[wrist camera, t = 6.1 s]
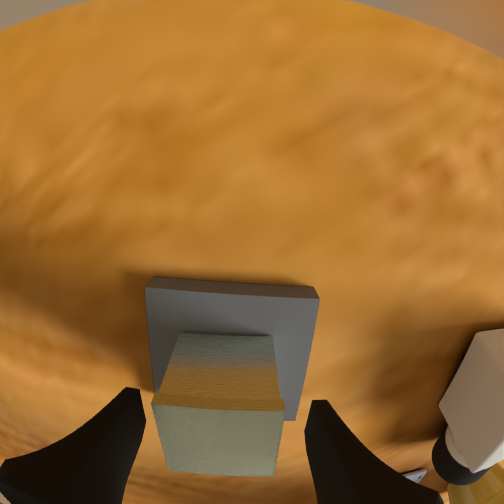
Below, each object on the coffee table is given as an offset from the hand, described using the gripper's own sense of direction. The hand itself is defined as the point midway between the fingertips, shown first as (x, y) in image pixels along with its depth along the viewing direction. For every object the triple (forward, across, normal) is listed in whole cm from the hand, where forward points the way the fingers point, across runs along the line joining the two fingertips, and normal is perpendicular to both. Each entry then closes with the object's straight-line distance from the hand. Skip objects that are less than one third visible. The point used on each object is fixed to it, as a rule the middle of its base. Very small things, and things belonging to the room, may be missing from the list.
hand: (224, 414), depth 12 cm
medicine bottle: (+1, -19, -1) cm, 19 cm away
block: (+6, 0, 0) cm, 6 cm away
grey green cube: (+3, 0, 0) cm, 3 cm away
